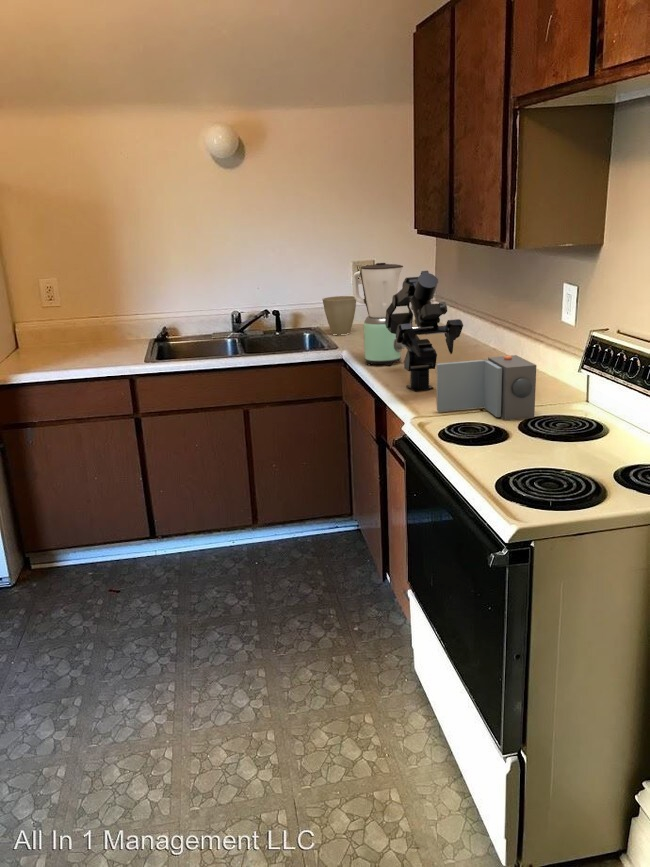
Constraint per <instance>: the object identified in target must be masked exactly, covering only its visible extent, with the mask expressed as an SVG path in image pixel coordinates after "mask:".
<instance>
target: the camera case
mask: <svg viewBox="0 0 650 867" xmlns="http://www.w3.org/2000/svg"><path fill="white" fill-rule="evenodd" d="M487 360H489V361H490V362H492V363H494V364H496V365H498V366H499V367H501V368H502V395H501V417H500V418H501V419H503V420H504V421H505V422H506V421H515V420H525V419H534V418H535V415H536V414H535V412H536V411H535V410H536V408H535V407H536V388H537V387H536V384H537V364H535V363H533V362H531V361H529V360H527V359H525V358H522V357H520V356H519V355H517V354H514V355H501V356H491V357H489V356H488V358H487Z"/></svg>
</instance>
